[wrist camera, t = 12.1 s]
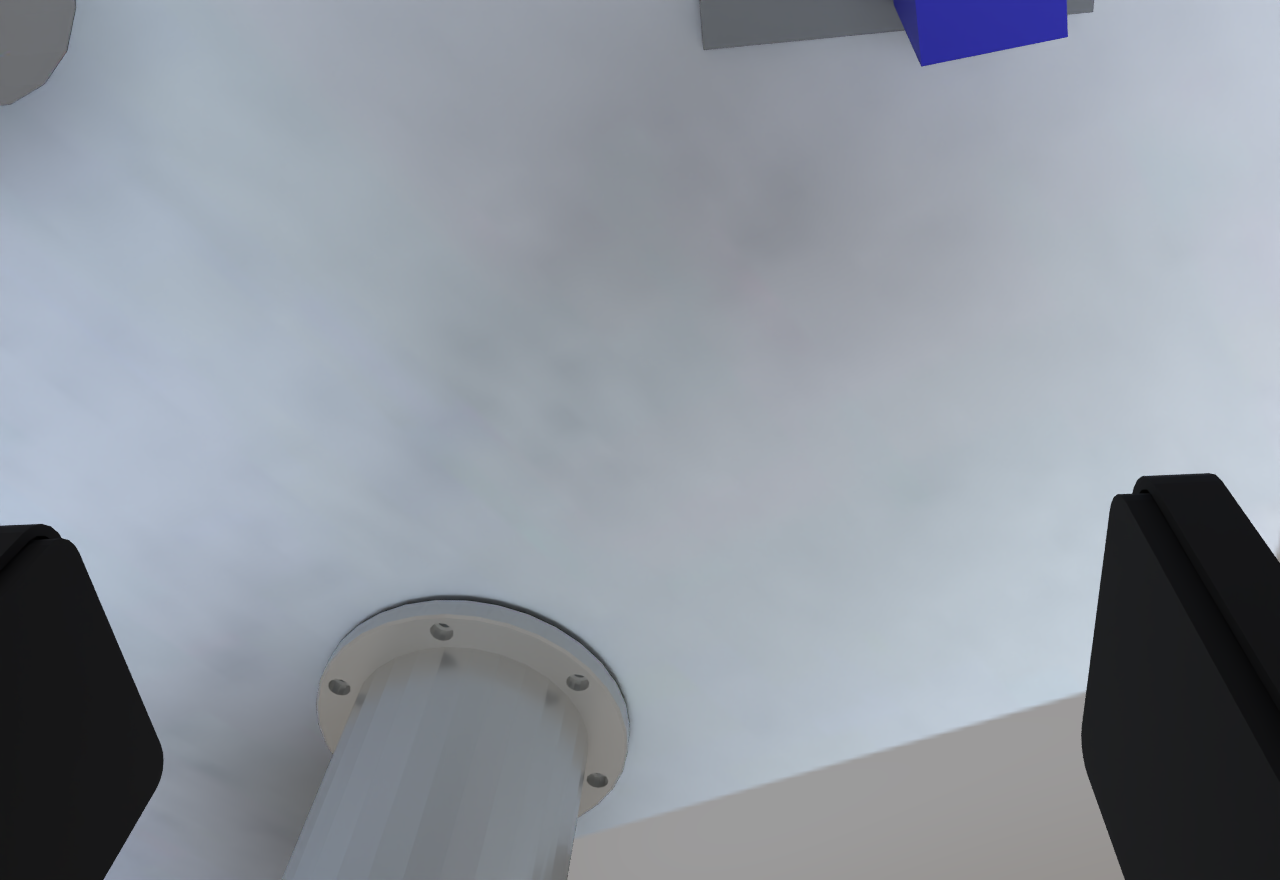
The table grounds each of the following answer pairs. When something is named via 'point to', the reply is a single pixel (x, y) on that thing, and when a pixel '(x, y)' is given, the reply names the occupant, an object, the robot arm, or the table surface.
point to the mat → (804, 20)
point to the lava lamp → (31, 43)
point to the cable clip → (978, 26)
